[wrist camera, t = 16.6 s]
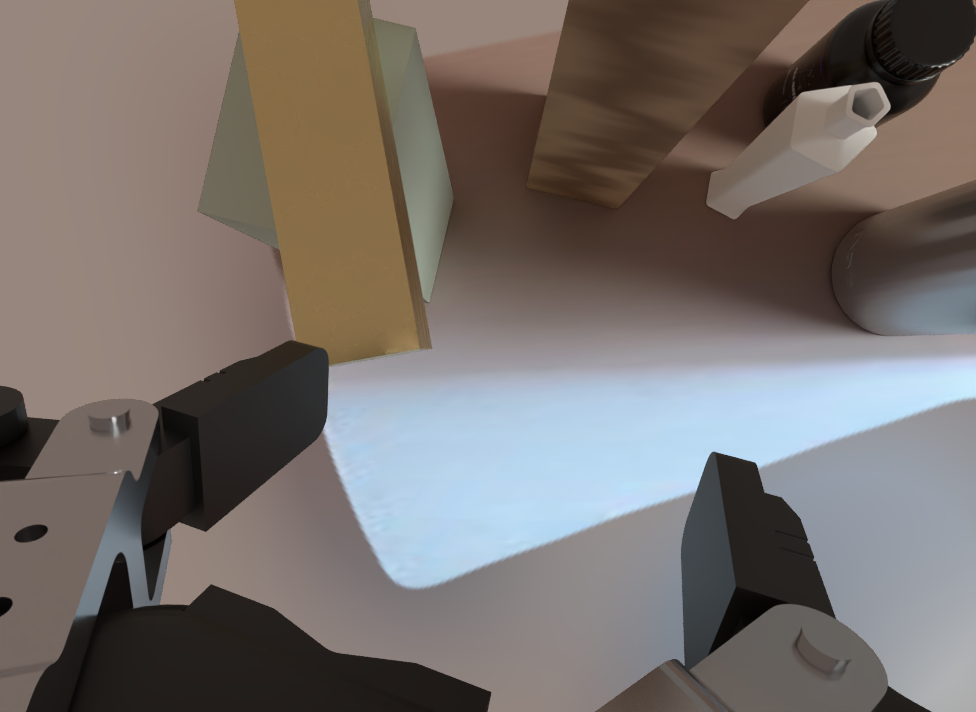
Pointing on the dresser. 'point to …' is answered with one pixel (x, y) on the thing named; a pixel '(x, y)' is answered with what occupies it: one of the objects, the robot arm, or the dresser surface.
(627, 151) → the stand
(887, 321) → the robot arm
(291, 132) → the rail
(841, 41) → the supplement bottle
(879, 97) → the perfume bottle
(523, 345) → the dresser surface
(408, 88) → the block
